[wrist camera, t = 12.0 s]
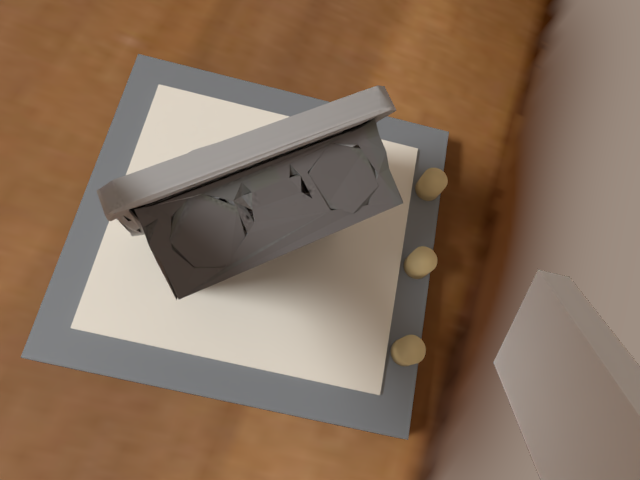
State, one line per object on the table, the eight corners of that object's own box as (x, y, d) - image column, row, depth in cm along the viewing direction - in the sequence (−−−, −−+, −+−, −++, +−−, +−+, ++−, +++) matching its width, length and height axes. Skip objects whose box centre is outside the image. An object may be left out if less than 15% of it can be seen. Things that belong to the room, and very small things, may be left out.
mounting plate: (143, 71, 27) (133, 37, 25) (439, 145, 28) (457, 119, 26) (33, 360, 22) (7, 353, 20) (398, 438, 23) (416, 441, 21)
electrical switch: (318, 149, 25) (368, 32, 16) (365, 245, 25) (443, 178, 16) (128, 221, 23) (64, 131, 14) (173, 330, 22) (137, 308, 13)
